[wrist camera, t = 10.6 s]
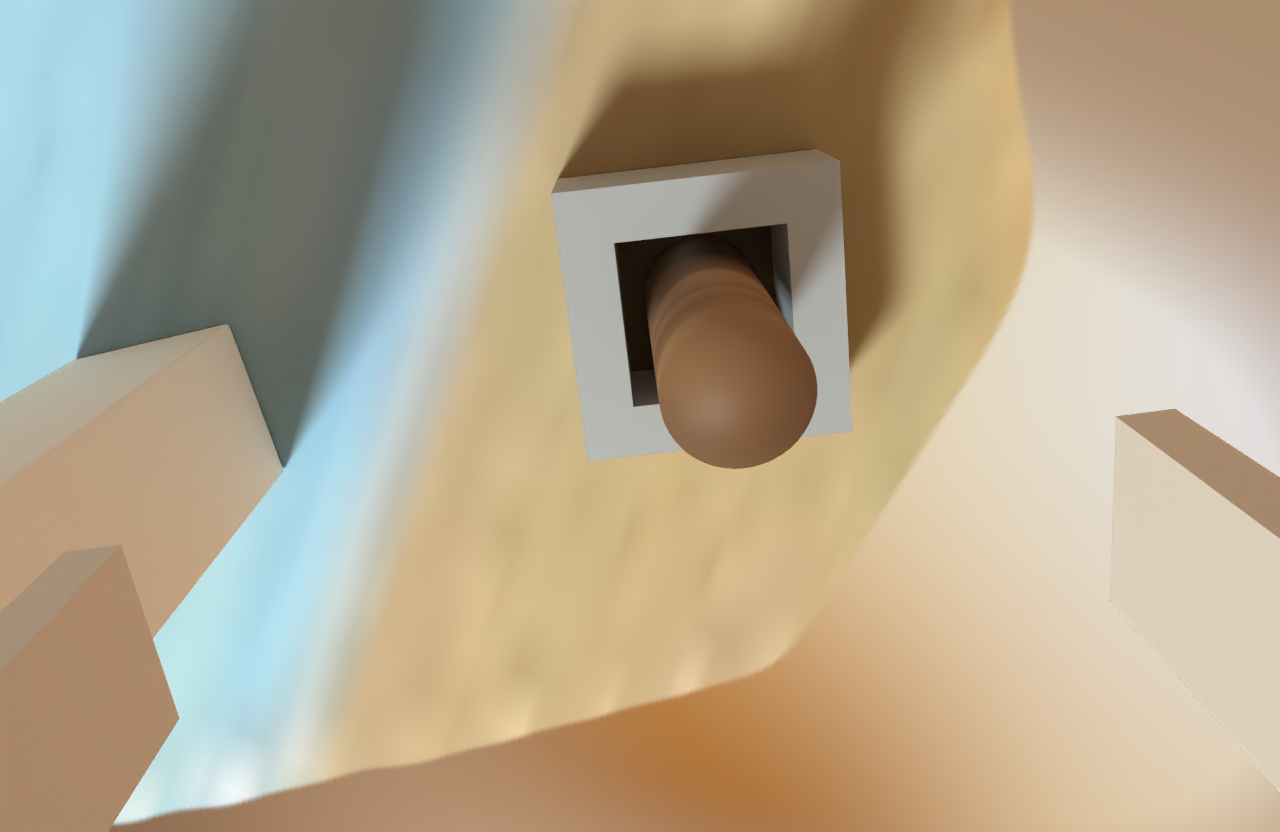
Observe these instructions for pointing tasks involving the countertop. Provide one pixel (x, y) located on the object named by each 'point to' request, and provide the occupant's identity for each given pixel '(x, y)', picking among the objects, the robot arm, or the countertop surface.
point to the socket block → (691, 204)
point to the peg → (724, 357)
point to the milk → (134, 464)
